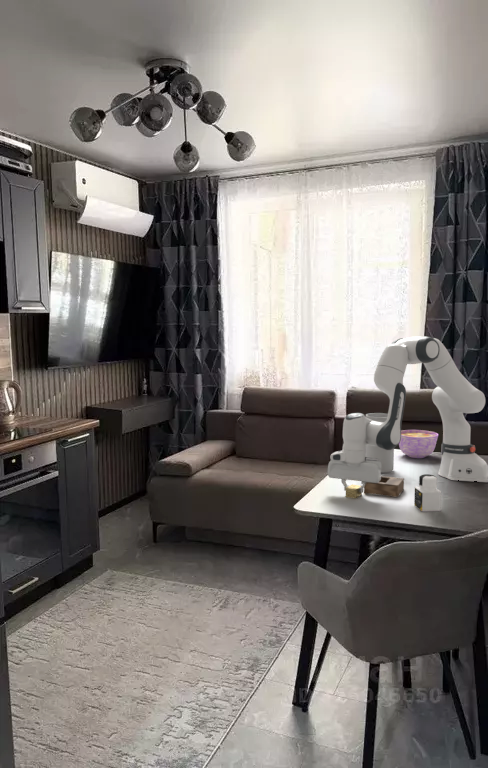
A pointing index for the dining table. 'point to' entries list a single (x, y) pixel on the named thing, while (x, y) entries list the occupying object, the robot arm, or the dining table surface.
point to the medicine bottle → (427, 494)
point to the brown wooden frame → (385, 486)
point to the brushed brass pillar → (353, 491)
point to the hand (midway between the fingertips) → (353, 491)
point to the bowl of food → (417, 443)
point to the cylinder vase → (377, 452)
